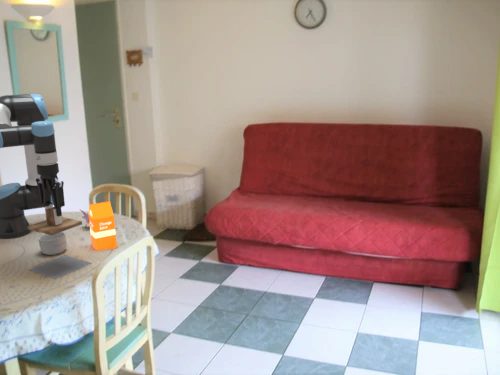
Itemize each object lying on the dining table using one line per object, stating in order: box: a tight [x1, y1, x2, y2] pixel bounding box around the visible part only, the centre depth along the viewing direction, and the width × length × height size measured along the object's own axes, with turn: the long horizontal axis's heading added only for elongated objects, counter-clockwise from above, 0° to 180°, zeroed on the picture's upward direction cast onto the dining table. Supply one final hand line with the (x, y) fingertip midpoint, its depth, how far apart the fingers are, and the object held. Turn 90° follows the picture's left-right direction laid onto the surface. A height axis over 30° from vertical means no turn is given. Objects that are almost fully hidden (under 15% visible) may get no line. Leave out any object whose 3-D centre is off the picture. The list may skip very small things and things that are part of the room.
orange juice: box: [88, 200, 118, 251], centre depth 215 cm, size 8×9×20 cm
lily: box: [79, 209, 89, 231], centre depth 240 cm, size 12×12×10 cm
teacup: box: [37, 231, 68, 256], centre depth 213 cm, size 14×11×8 cm
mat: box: [27, 254, 93, 280], centre depth 197 cm, size 17×17×1 cm
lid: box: [27, 206, 83, 235], centre depth 192 cm, size 14×14×7 cm
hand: (54, 222), depth 193 cm, fingers closed on lid, 4 cm apart
